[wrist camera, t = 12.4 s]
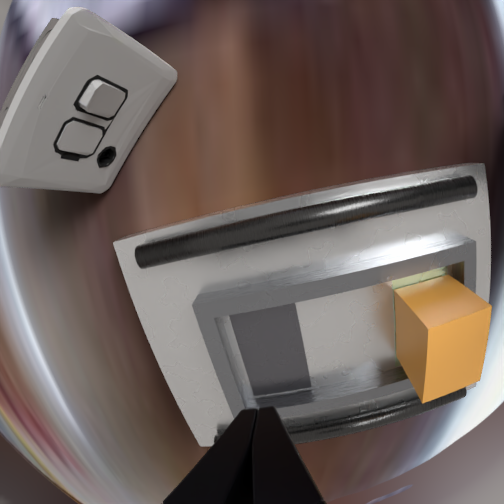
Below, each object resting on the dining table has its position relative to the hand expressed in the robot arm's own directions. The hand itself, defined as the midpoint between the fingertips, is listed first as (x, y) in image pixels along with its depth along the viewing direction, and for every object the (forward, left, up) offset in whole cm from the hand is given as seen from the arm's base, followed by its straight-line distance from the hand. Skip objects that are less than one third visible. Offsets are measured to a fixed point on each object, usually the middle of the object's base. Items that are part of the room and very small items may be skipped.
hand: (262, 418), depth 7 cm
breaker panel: (-3, +5, -13) cm, 14 cm away
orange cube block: (-9, +5, -11) cm, 15 cm away
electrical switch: (+8, -12, -13) cm, 20 cm away
